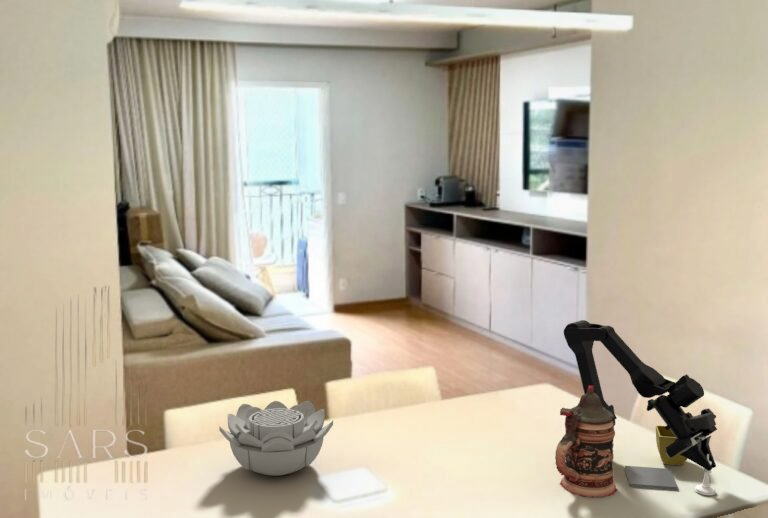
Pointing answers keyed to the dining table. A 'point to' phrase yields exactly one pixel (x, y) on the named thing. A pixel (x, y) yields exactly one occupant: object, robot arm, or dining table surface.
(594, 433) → the beer stein
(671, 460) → the flower pot
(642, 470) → the slate tile
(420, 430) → the dining table surface
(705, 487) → the chess piece
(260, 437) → the decorative bowl
